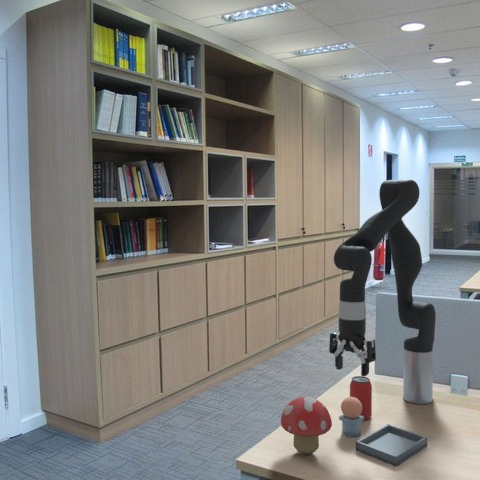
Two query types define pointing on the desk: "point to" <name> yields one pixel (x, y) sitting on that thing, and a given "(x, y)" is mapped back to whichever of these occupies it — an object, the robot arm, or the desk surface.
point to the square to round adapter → (351, 426)
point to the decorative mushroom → (306, 423)
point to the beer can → (362, 394)
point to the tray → (391, 444)
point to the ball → (351, 407)
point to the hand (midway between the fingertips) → (351, 372)
